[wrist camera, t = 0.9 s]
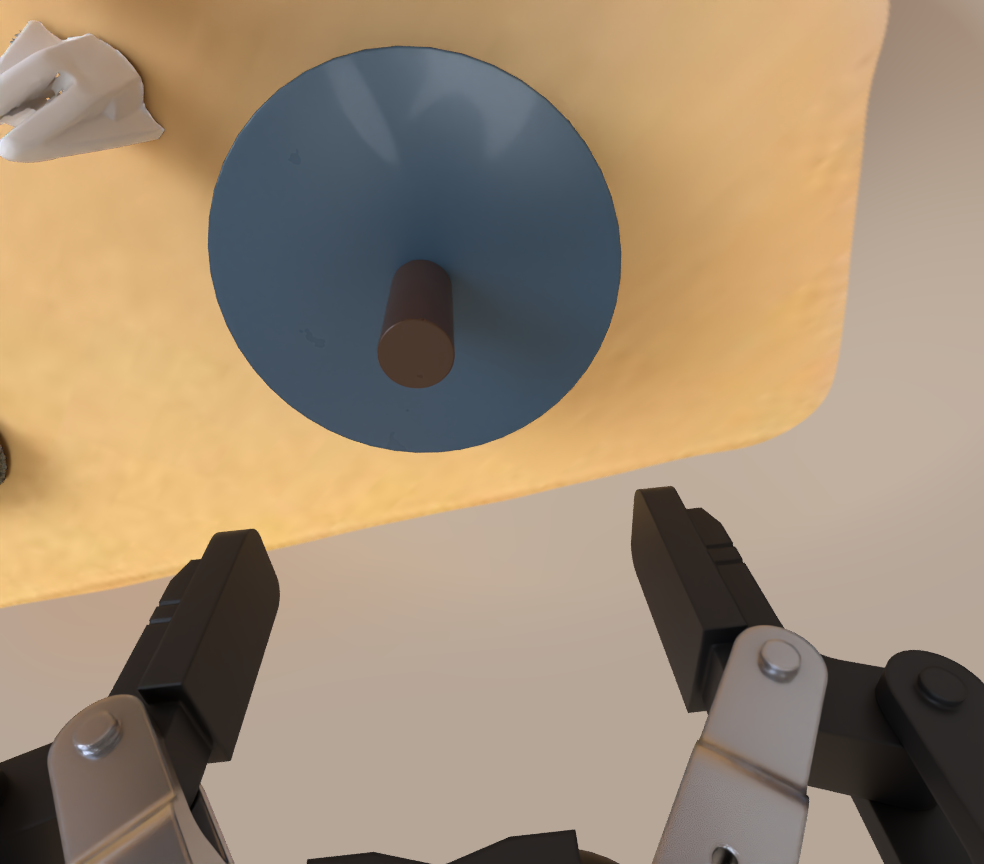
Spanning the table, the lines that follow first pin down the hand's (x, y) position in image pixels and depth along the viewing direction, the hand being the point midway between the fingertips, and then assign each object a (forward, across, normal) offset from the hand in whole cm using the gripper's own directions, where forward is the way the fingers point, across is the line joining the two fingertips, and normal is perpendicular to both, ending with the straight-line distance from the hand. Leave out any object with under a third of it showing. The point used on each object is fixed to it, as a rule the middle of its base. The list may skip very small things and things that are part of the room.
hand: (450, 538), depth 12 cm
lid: (+16, +1, 0) cm, 16 cm away
